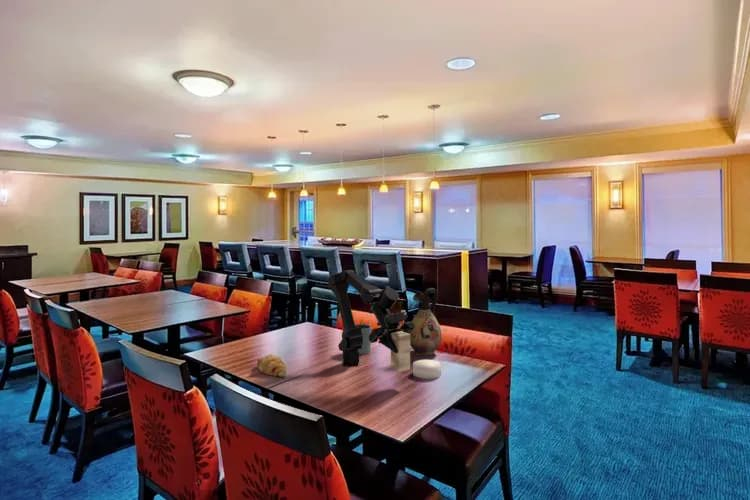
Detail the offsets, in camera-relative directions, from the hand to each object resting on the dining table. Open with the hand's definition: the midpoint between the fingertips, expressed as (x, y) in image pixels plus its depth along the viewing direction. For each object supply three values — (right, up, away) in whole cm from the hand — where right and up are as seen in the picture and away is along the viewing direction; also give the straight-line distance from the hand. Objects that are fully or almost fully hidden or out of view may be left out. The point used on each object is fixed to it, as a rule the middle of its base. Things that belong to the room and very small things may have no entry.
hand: (402, 351), depth 156 cm
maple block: (-1, -7, +1) cm, 7 cm away
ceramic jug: (+14, -11, +42) cm, 46 cm away
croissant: (-52, -13, +19) cm, 57 cm away
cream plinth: (+11, -12, +14) cm, 21 cm away
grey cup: (-17, -11, +45) cm, 50 cm away
